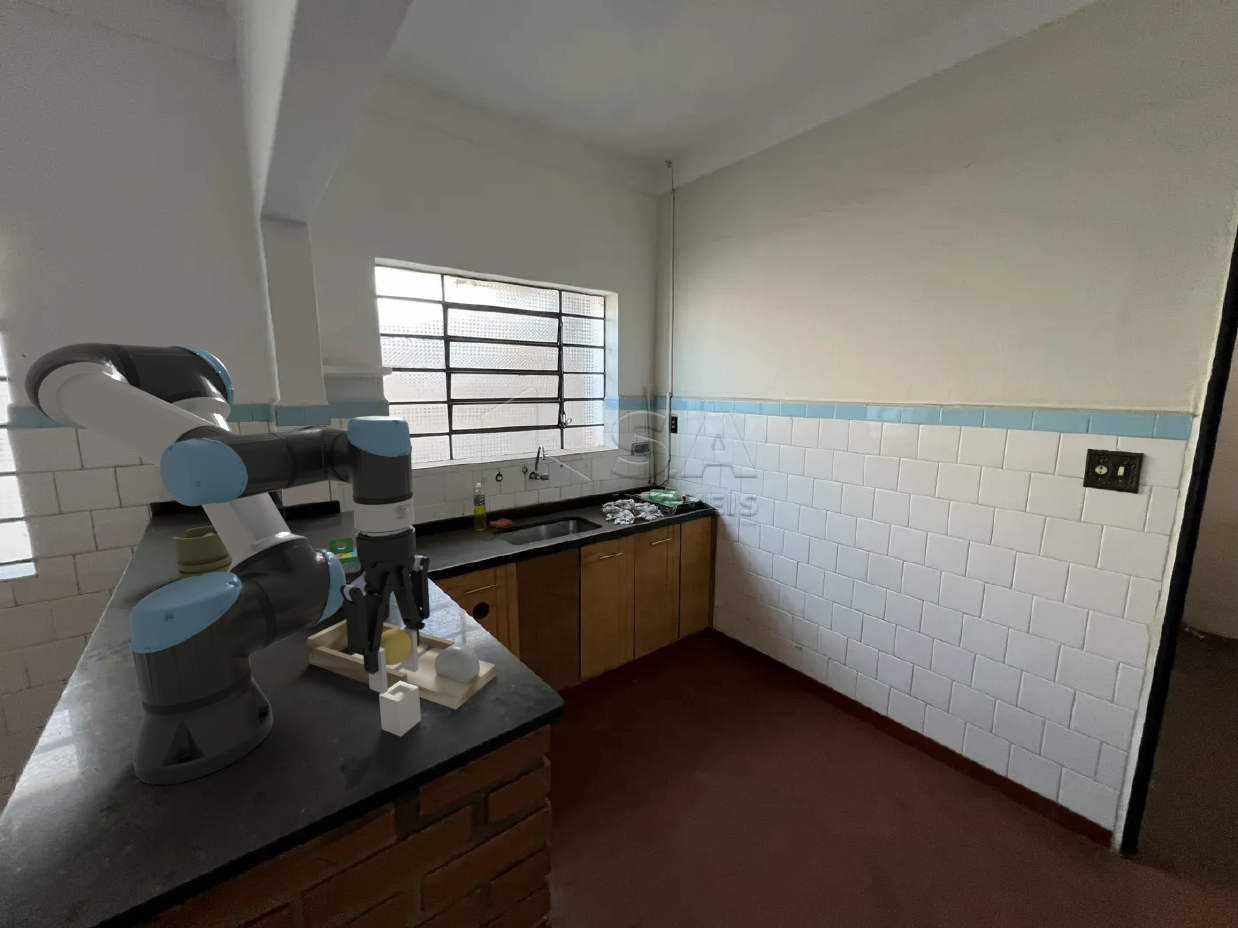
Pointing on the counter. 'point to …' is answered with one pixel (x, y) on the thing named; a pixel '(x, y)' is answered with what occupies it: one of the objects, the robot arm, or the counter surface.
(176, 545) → the piston
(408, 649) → the ball
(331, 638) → the lane
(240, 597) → the robot arm
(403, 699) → the tee
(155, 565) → the counter surface
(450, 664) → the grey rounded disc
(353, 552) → the chalk box
